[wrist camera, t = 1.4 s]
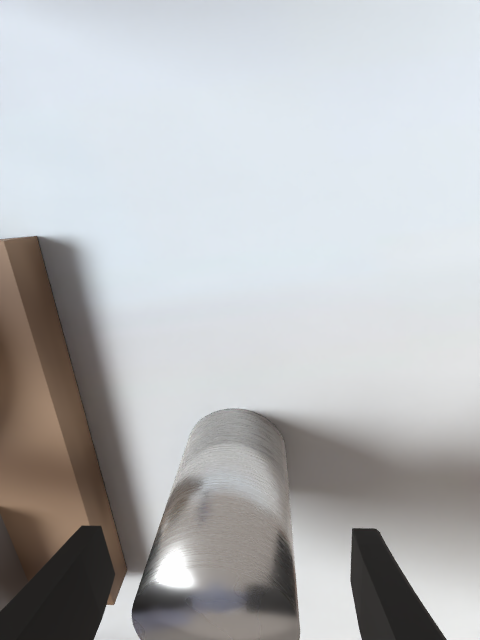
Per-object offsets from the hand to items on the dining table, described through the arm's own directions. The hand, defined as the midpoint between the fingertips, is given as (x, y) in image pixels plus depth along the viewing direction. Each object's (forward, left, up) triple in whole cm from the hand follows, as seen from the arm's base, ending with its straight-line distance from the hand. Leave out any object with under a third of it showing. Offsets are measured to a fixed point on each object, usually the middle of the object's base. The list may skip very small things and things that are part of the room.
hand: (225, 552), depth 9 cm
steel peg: (0, 0, -4) cm, 4 cm away
